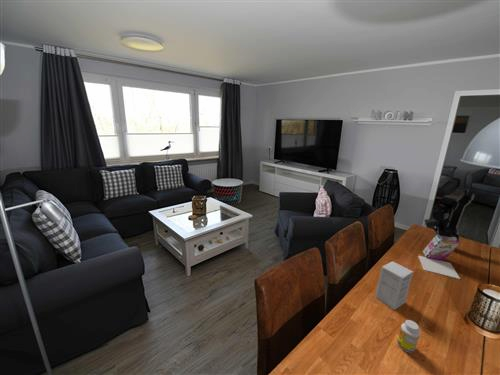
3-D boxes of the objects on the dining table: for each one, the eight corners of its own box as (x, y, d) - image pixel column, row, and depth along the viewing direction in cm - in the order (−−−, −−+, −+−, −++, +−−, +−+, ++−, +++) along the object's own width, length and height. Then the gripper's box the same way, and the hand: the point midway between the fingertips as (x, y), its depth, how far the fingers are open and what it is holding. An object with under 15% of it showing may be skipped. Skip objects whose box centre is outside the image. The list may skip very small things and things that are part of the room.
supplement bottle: (397, 336, 87) (404, 315, 84) (415, 345, 84) (422, 323, 81) (395, 346, 83) (401, 324, 80) (413, 356, 80) (421, 334, 77)
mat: (418, 256, 143) (418, 255, 142) (450, 263, 136) (450, 263, 136) (424, 270, 129) (424, 269, 129) (460, 279, 122) (460, 278, 122)
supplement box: (405, 303, 104) (414, 271, 99) (395, 310, 99) (403, 278, 95) (384, 289, 112) (392, 260, 107) (374, 296, 107) (381, 266, 102)
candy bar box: (425, 258, 140) (440, 240, 130) (421, 251, 144) (435, 233, 134) (444, 260, 139) (461, 243, 129) (440, 253, 143) (455, 236, 133)
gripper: (424, 209, 147) (418, 231, 151) (431, 220, 130) (424, 244, 135) (445, 213, 142) (438, 235, 146) (456, 224, 126) (447, 249, 130)
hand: (436, 240), depth 140 cm, fingers closed
